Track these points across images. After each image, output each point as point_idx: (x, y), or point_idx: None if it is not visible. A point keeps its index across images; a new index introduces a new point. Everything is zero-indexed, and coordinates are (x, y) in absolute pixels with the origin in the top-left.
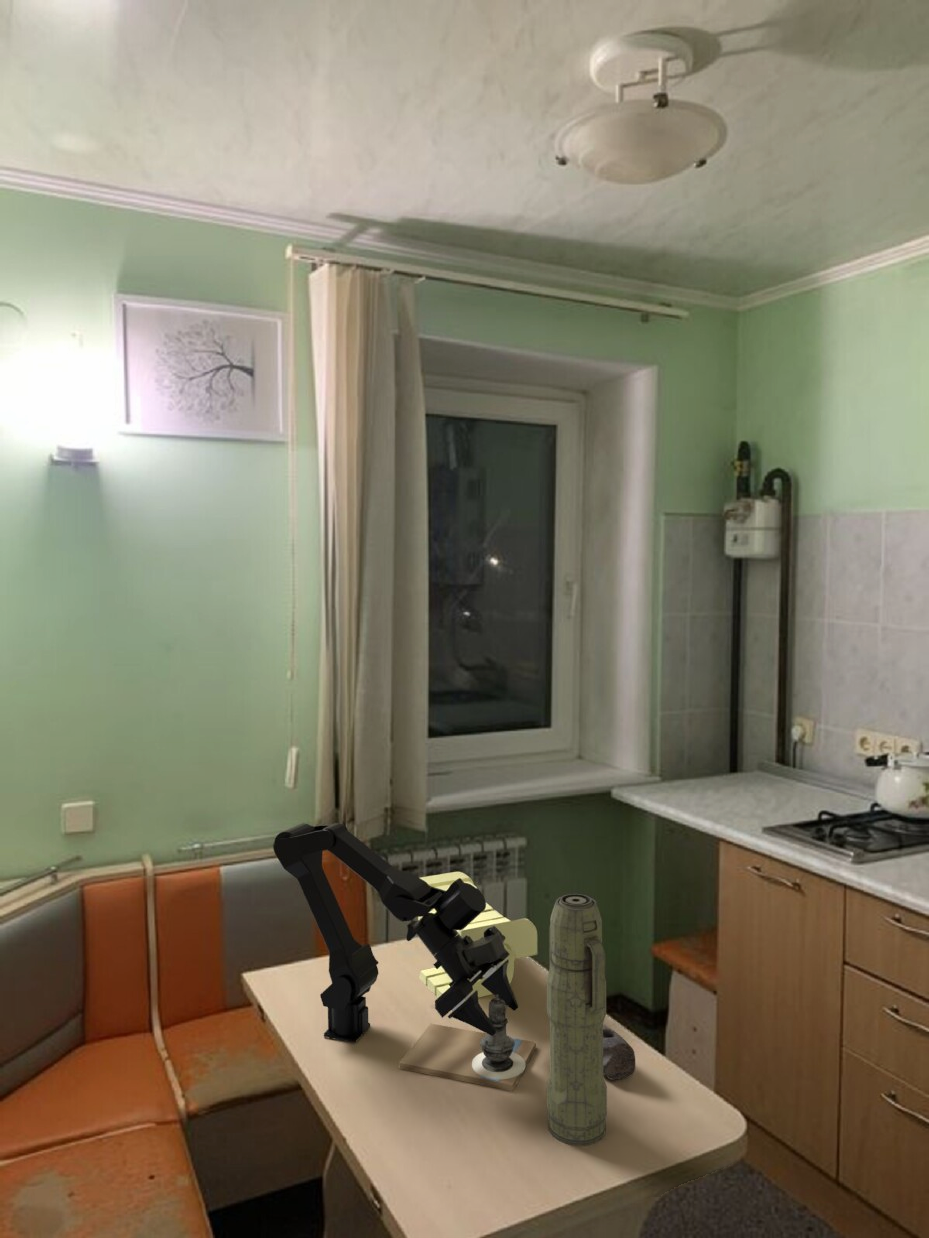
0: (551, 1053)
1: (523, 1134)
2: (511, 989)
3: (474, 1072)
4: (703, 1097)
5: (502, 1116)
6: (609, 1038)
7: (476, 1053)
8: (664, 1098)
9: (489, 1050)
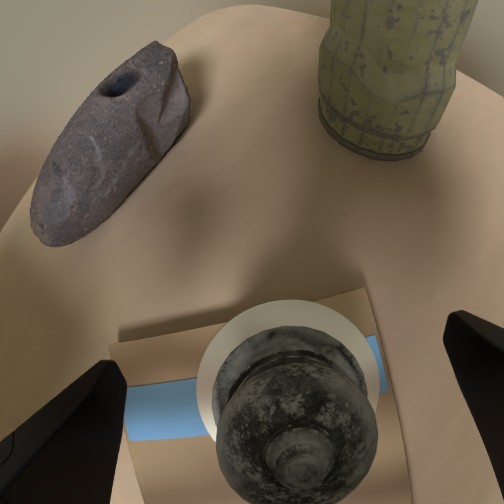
0: (475, 6)
1: (464, 185)
2: (30, 421)
3: None
4: (172, 39)
5: (457, 252)
6: (144, 65)
7: None
8: (199, 59)
9: (365, 393)
